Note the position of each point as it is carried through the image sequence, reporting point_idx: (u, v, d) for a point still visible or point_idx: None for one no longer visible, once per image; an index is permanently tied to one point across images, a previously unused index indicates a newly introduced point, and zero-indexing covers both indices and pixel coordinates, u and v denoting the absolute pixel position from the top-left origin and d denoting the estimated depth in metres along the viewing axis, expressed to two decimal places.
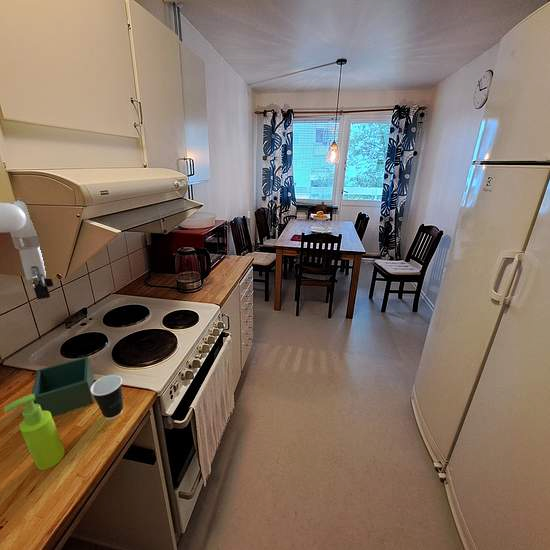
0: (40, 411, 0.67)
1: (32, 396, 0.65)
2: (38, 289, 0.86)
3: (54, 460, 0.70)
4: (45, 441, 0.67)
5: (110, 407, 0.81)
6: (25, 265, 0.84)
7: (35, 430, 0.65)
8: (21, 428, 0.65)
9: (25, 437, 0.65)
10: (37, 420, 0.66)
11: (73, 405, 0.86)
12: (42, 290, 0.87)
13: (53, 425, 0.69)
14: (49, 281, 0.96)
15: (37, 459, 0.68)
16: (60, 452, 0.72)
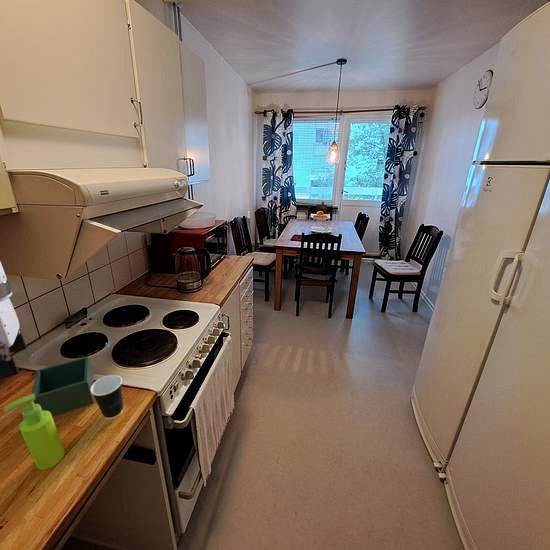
0: (40, 411, 0.67)
1: (32, 396, 0.65)
2: None
3: (54, 460, 0.70)
4: (45, 441, 0.67)
5: (110, 407, 0.81)
6: None
7: (35, 430, 0.65)
8: (21, 428, 0.65)
9: (25, 437, 0.65)
10: (37, 420, 0.66)
11: (73, 405, 0.86)
12: (5, 366, 0.57)
13: (53, 425, 0.69)
14: (20, 343, 0.66)
15: (37, 459, 0.68)
16: (60, 452, 0.72)
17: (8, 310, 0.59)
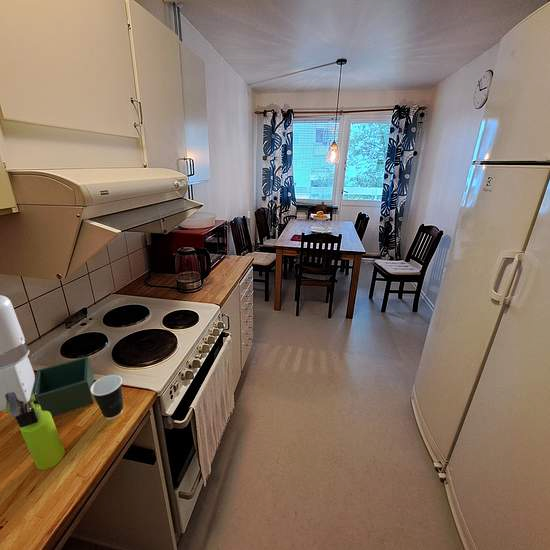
0: (40, 411, 0.67)
1: (32, 396, 0.65)
2: (21, 416, 0.63)
3: (54, 460, 0.70)
4: (45, 441, 0.67)
5: (110, 407, 0.81)
6: None
7: (35, 431, 0.65)
8: (21, 428, 0.65)
9: (25, 437, 0.65)
10: None
11: (73, 405, 0.86)
12: (26, 416, 0.63)
13: (53, 425, 0.69)
14: None
15: (37, 459, 0.68)
16: (60, 452, 0.72)
17: (25, 367, 0.62)
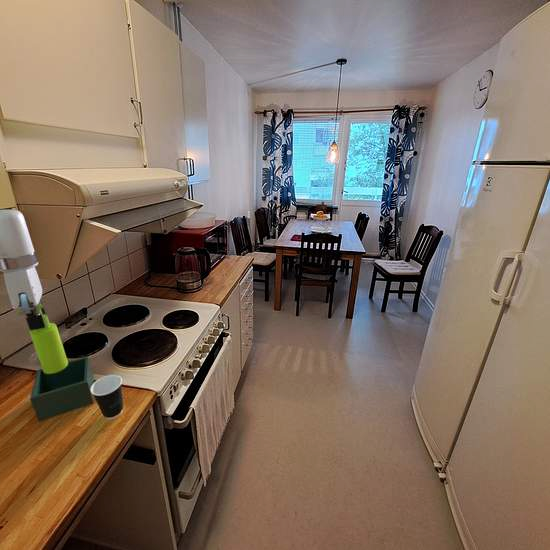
0: (47, 320, 0.77)
1: (40, 305, 0.76)
2: (31, 319, 0.73)
3: (59, 366, 0.81)
4: (51, 346, 0.78)
5: (110, 407, 0.81)
6: (11, 291, 0.68)
7: (42, 334, 0.76)
8: (31, 332, 0.76)
9: (34, 340, 0.76)
10: None
11: (73, 405, 0.86)
12: (35, 320, 0.74)
13: (58, 335, 0.80)
14: None
15: (44, 363, 0.79)
16: (64, 361, 0.82)
17: (35, 276, 0.73)
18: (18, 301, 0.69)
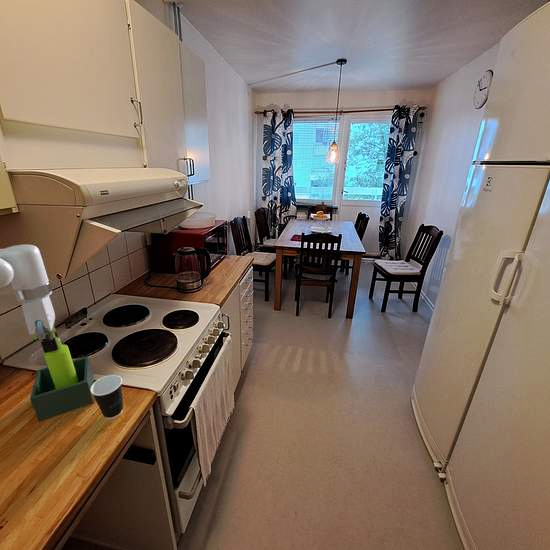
0: (60, 342, 0.84)
1: (53, 329, 0.83)
2: (45, 343, 0.80)
3: (70, 384, 0.87)
4: (63, 367, 0.84)
5: (110, 407, 0.81)
6: (28, 319, 0.74)
7: (56, 356, 0.82)
8: (45, 354, 0.82)
9: (48, 362, 0.83)
10: None
11: (73, 405, 0.86)
12: (49, 343, 0.81)
13: (69, 355, 0.86)
14: None
15: (57, 382, 0.85)
16: (75, 379, 0.89)
17: (49, 304, 0.79)
18: (35, 328, 0.75)
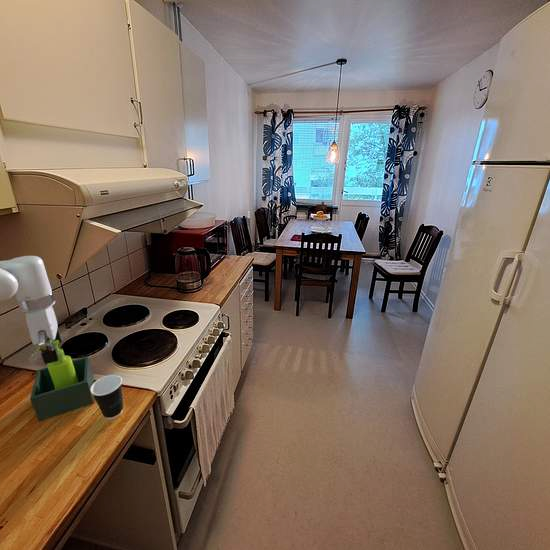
0: (63, 354, 0.85)
1: (57, 341, 0.84)
2: (46, 354, 0.78)
3: None
4: (66, 378, 0.86)
5: (110, 407, 0.81)
6: (31, 330, 0.75)
7: (59, 368, 0.84)
8: (48, 366, 0.84)
9: (51, 373, 0.84)
10: (61, 360, 0.85)
11: (73, 405, 0.86)
12: (49, 354, 0.79)
13: (72, 366, 0.88)
14: (57, 338, 0.88)
15: None
16: None
17: (52, 314, 0.80)
18: (38, 338, 0.77)
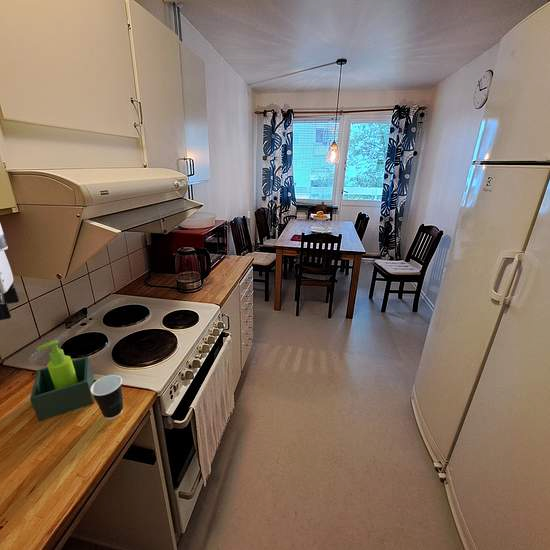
0: (63, 354, 0.85)
1: (57, 341, 0.84)
2: None
3: None
4: (66, 378, 0.86)
5: (110, 407, 0.81)
6: None
7: (59, 368, 0.84)
8: (48, 366, 0.84)
9: (51, 373, 0.84)
10: (61, 360, 0.85)
11: (73, 405, 0.86)
12: None
13: (72, 366, 0.88)
14: (13, 296, 0.75)
15: None
16: None
17: (4, 262, 0.68)
18: None
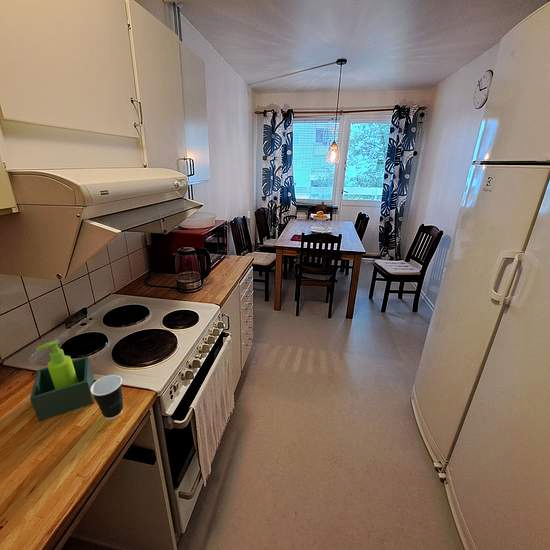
0: (63, 354, 0.85)
1: (57, 341, 0.84)
2: None
3: None
4: (66, 378, 0.86)
5: (110, 407, 0.81)
6: None
7: (59, 368, 0.84)
8: (48, 366, 0.84)
9: (51, 373, 0.84)
10: (60, 360, 0.85)
11: (73, 405, 0.86)
12: None
13: (72, 366, 0.88)
14: None
15: None
16: None
17: None
18: None
